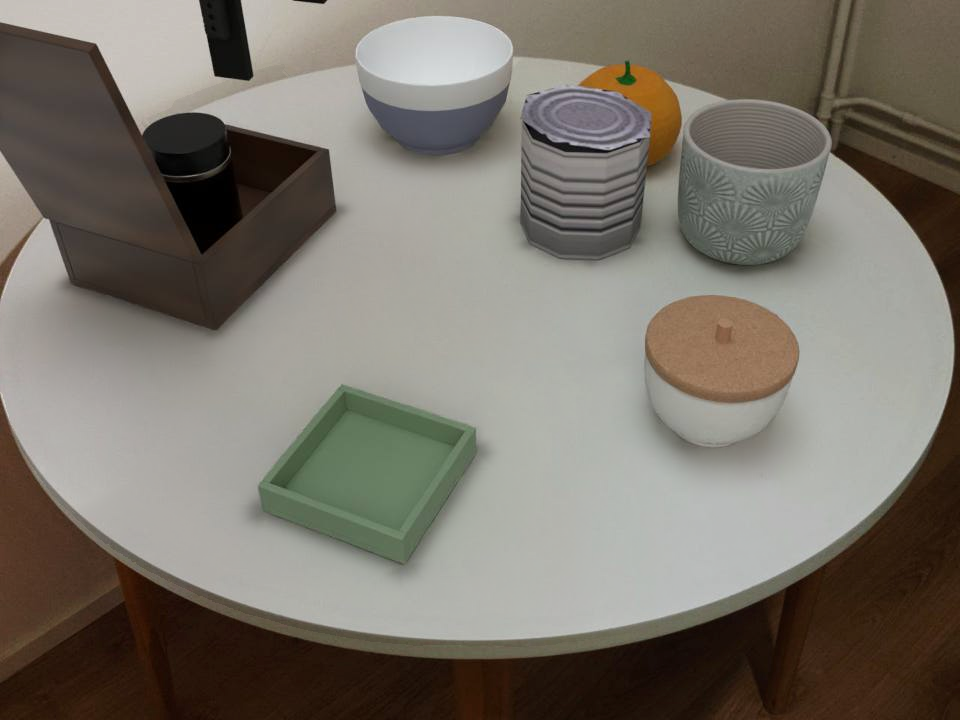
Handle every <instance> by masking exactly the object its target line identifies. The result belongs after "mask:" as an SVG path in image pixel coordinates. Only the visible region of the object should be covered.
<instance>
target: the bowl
mask: <svg viewBox="0 0 960 720" xmlns="http://www.w3.org/2000/svg"><path fill="white" fill-rule="evenodd" d="M514 51H515V50H514V46H513V42H512V40H511V39H510V38H509V36H508V35H507V34H506V33H505V32H504V31H502V30H501V29H500V28H497V27H495V26H493V25H491V24H489V23H486V22H483V21H480V20H478V19H477V20H476V19H473V18H467V17H461V16H452V15H427V16H417V17H416V16H415V17H410V18H404V19H400V20H396V21H392V22H390V23H387V24H384V25H381V26H379V27H377V28H375V29H372V30H371V31H370V32H369V33H367V34H366V35H364V36H363V37H362V38H361V39H360V41H359V42H358V43H357V45H356V48H355V51H354V55H355V57H354V58H355V65H356V70H357V77H358V82H359V84H360V88H361V91H362V94H363V97H364V101H365V104H366V106H367V108H368V110H369V112H370V113H371V114H372V116H373V118H374V119H375V120H376V122H377V123H378V125H379V126H380V127H381V129H382V130H383V131H384V132H386V133H387V134H389V135H390V136H392V137H393V138H395V139H396V142H397V143H398V145H400V146H401V147H403V148H404V149H406V150H408V151H410V152H412V153H416V154H420V155H427V156H445V155H451V154H457V153H459V152H463V151H465V150H467V149H469V148H471V147H473V146H474V145H475V144H476V143H477V142H478V141H479V139H480V137H481V136H482V135H483V134H484V133H486V132H487V131H488V130H489V129H490V128H491V127H492V126H493V124H494V123H495V121H496V120H497V118H498V116H499V114H500V113H501V111H502V109H503V107H504V106H505V104H506V103H507V98H508V93H509V88H510V84H511V80H512V76H513V75H512V74H513V64H514Z"/></svg>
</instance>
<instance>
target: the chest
mask: <svg viewBox="0 0 960 720" xmlns="http://www.w3.org/2000/svg"><path fill="white" fill-rule="evenodd" d="M224 124H225V127H226V131H227V137H228V142H229V147H230V149H231V154H232V163H233V168H234V173H235V178H236V183H237V189H238V194H239V199H240V204H241V209H242V215H243V218H242V219H241V220H240V221H239V222H238V223H237V224H236V225H235V226H234V227H232V228H231V229H230V230H229V231H228V232H227V233H226V234H225V235H223V236H222V237H221V238H220V239H219V240H218V241H217V242H216V243H214V244H213V245H212V246H211V247H210V248H209V249H208V250H207V251H205V252H204V253H203V254H202V256H201V258H200V259H199V260H198V262H197V263H193V262H190V261H186V260H183V259H179V258H176V257H173V256H169V255H166V254H163V253H159V252H156V251H153V250H149V249H146V248H143V247H139V246H136V245H132V244H129V243H126V242H122V241H119V240H116V239H112V238H109V237H106V236H102V235H99V234H96V233H92V232H89V231H85V230H82V229H79V228H75V227H72V226H69V225H65V224H62V223H59V222H55V221H52V220H49V219H48V221H49V224H50V227H51V230H52V233H53V236H54V238H55V241H56V245H57V247H58V250H59V253H60V257H61V259H62V262H63V265H64V269H65V271H66V274H67V277H68V280H69V283H70V285H72V286H73V285H74V286H76V287H80V288H82V289H86V290H89V291H91V292H94V293H98V294H101V295H105V296H107V297H110V298H113V299H116V300H120V301H123V302H126V303H130V304H133V305H136V306H138V307H142V308H145V309H148V310H151V311H154V312H157V313H160V314H163V315H167V316H170V317H174V318H175V319H179V320H182V321H185V322H188V323H192V324H194V325H198V326H201V327H204V328H208V329H211V330H214V331H217V330H218V329H219V328H220V327H221V326H222V325H223V324H224V323H225V322H226V321H227V320H228V319H229V318H230V317H231V316H233V314H234V313H235V312H237V310H238V309H239V308H240V307H241V306H242V305H243V304H244V303H245V302H247V300H248V299H249V298H250V297H251V296H253V294H254V293H255V292H256V291H257V290H259V288H260V287H262V285H263V284H264V283H266V281H267V280H268V279H269V278H270V277H271V276H272V275H274V274H275V273H276V272H277V270H279V269H280V268H281V267H282V266H283V265H284V264H285V263H286V261H288V260H289V259H290V258H291V257H292V256H293V255H294V254H295V253H296V252H297V251H298V250H299V249H300V248H301V247H302V246H303V245H304V244H305V243H306V242H307V241H308V240H309V239H310V238H311V237H312V236H313V235H314V234H315V233H316V232H317V231H318V230H319V229H320V228H321V227H322V226H324V224H325V223H326V222H327V221H329V220H330V218H331V217H333V215H334V214H336V212H337V205H336V196H335V187H334V179H333V172H332V161H331V156H330V155H331V153H330V149H329V148H325V147H321V146H317V145H313V144H309V143H305V142H300V141H297V140H292V139H288V138H285V137H280V136H276V135H272V134H267V133H263V132H259V131H256V130H253V129H252V130H251V129H248V128H243V127H239V126H234V125H232V124H231V125H230V124H227V123H224Z"/></svg>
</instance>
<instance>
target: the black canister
mask: <svg viewBox="0 0 960 720" xmlns="http://www.w3.org/2000/svg"><path fill="white" fill-rule="evenodd" d="M225 124H226V123H225V122H224V121H223V120H222V119H221V118H219V117H218V116H216V115H213V114H209V113H206V112H205V113H204V112H197V111H196V112H195V111H193V112H192V111H191V112H189V111H188V112H179V113H175V114H171V115H167V116H164V117H161V118H159V119H157V120H155V121H153V122H152V123H151V124H149V125H148V126H147V127H145V129H144V130H143V132H142V133H141V134H142V136H143V138H144V140H145V142H146V144H147V146H148V148H149V150H150V152H151V155H152V157H153V159H154V161H155V163H156V165H157V167H158V169H159V171H160V173H161V175H162V177H163V179H164V181H165V183H166V185H167V187H168V189H169V191H170V193H171V195H172V197H173V199H174V201H175V203H176V205H177V207H178V209H179V211H180V213H181V215H182V217H183V219H184V221H185V223H186V225H187V227H188V229H189V231H190V233H191V235H192V237H193V239H194V241H195V243H196V245H197V247H198V249H199V251H200V253H201V255H202V254H203V253H204V252H205V251H207V250H208V249H209V248H210V247H211V246H212V245H213V244H214V243H216V242H217V241H218V240H219V239H220V238H221V237H222V236H223V235H225V234H226V233H227V232H228V231H229V230H230V229H231V228H232V227H234V226H235V225H236V224H237V223H238V222H239V221H240V220H241V219H242V218H243V215H242V209H241V204H240V199H239V194H238V189H237V183H236V178H235V173H234V168H233V163H232V154H231V149H230V147H229V142H228V137H227V131H226V127H225Z"/></svg>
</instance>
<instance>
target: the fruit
mask: <svg viewBox="0 0 960 720" xmlns="http://www.w3.org/2000/svg"><path fill="white" fill-rule="evenodd" d="M577 86H581V87H588V88H595V89H602V90H609V91H616V92H618V93H620V94H622V95H623V96H625V97H627V98H628V99H630V100H631V101H633V102H635V103H636V104H638V105H639V106H641V107H643V108H644V109H646V110H648V111H649V112H651V132H650V142H649V151H648V161H647V167H650V166H652V165H654V164H657V163H658V162H660V161H661V160H662V159H664V158H665V157H666V156H667V155H669V154H670V153H671V151H672V150H673V149H674V147H675V145H676V143H677V141H678V138H679V135H680V134H681V130H682V126H683V125H682V124H683V123H682V121H683V116H682V109H681V106H680V101H679V98H678V96H677V93H675V91H674V89H673V88H672V87H671V86H670V85H669V83H667V81H666V80H665V79H664V78H663V77H662V76H661V75H660V74H658V73H657V72H655V71H654V70H652V69H650V68H647V67H645V66H641V65H635V64H631V63H630V60H625V61H624V64H623V63H621V64H612V65H606V66H603V67H601V68H599V69H597V70H595V71H594V72H592V73H591V74H589V75H587V76H586V77H585V78H584V79H583V80H581V82H580V83H579V84H578V85H577Z"/></svg>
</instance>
